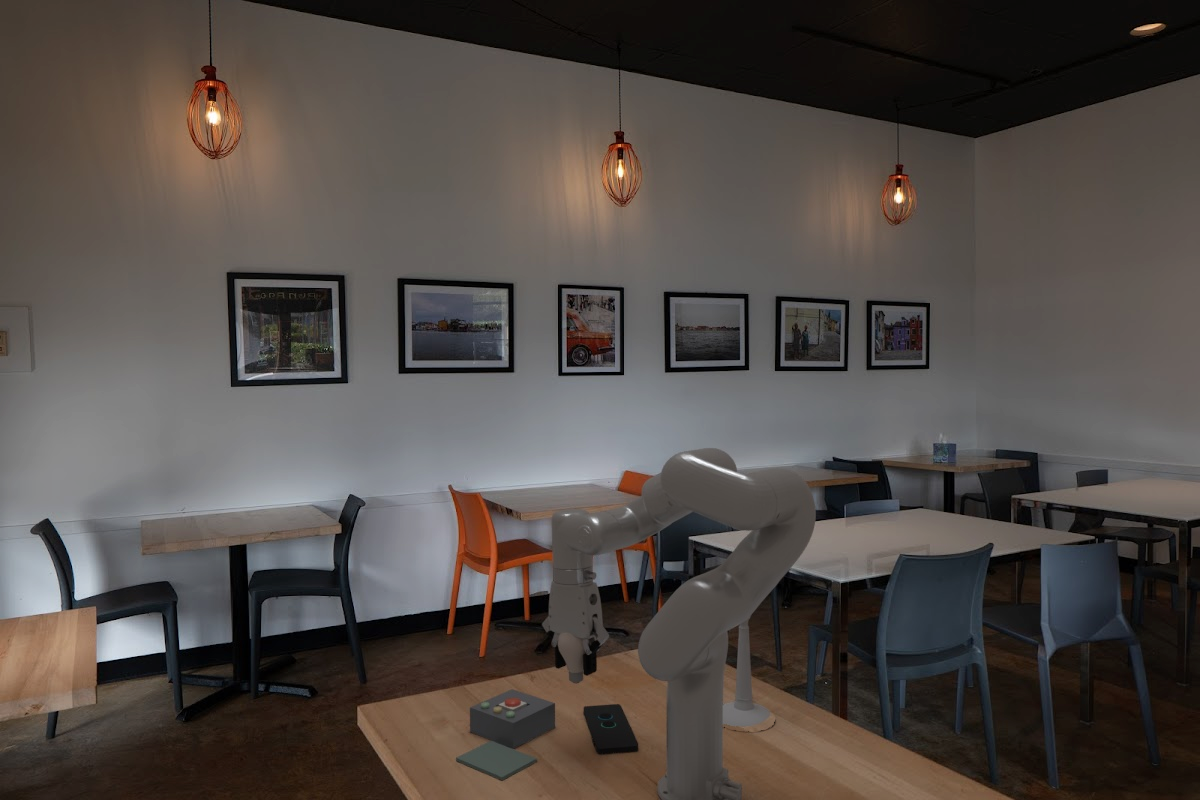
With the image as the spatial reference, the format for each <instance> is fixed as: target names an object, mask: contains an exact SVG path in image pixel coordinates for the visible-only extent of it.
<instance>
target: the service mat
mask: <svg viewBox="0 0 1200 800" xmlns="http://www.w3.org/2000/svg"><path fill="white" fill-rule="evenodd" d="M455 761H456V762H458V763H460V764H462V765H465V766H467V767H469V768H472V769H474V770H476V771H478V772H482V774H483V773H484V774H486V775H489V776H490V777H493V778H495V779H498V780H500V781H504V780H505V779H508V778H509V777H512V776H513V775H515V774H517V773H518V772H520V771H523V770H524V769H526V768H528V767H530V766H532V765H534V764H535V763H537V762H538V757H537V758H536V757H535V756H533V755H529V754H527V753H524V752H522V751H520V750H517V749H515V748H514V749H512V748H510V747H507V746H505V745H502V744H499V743H497V742H494V741H492V740H489V741H487V742H485V743H484V744H482V745H480V746H476V747H475V748H473V749H470V750H469V751H467V752H464V753H463V754H461V755H459V756H457V757H455Z"/></svg>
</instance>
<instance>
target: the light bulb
mask: <svg viewBox="0 0 1200 800" xmlns="http://www.w3.org/2000/svg"><path fill="white" fill-rule="evenodd" d="M588 641H589V644H590V645H591V642H590V639H588ZM558 648H559V651H560V653H561V655H562V656H563V658H564V660H565V662H566V669H567V671H568V680H569V681H570V682H571V683H573V684H580V683H581V682H583V681H584V674H583V654H585V653H586V652H585V649H584V646H583V644H582V641H581V639H579V638H576V637H574V636H573V635H572V634H570V633H567V632H565V633H561V634H560V635H559V639H558Z"/></svg>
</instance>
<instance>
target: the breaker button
mask: <svg viewBox="0 0 1200 800" xmlns="http://www.w3.org/2000/svg"><path fill="white" fill-rule="evenodd" d="M498 706H499V707H502V709H504V710H507V711H514V712H515V711H517V710H519V709H522V708H524V707H526V706H527V703H525V702H522V701H521V700H520V699H519V698H508V699H506V700H505V702H503V703H501V704H498Z"/></svg>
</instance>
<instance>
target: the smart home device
mask: <svg viewBox="0 0 1200 800" xmlns="http://www.w3.org/2000/svg"><path fill="white" fill-rule="evenodd" d="M583 716H584V720H585V723H586V724H587V727H588V731H589V734H590V736H591V742H592V744H593V747H594V749H595V751H596V754H597V755H612V754H624V753H636V752H638V751H639V742H638V740H637V738H636V735H635V734H634V731H633V729H632V727H631V724H630V723H629V720H628V718H627V716H626V714H625V712H624V709H623V707H622V705H621V704H619V703H614V704H613V703H612V704H600V705H599V704H598V705H587V706H586V705H585V706H583Z"/></svg>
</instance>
